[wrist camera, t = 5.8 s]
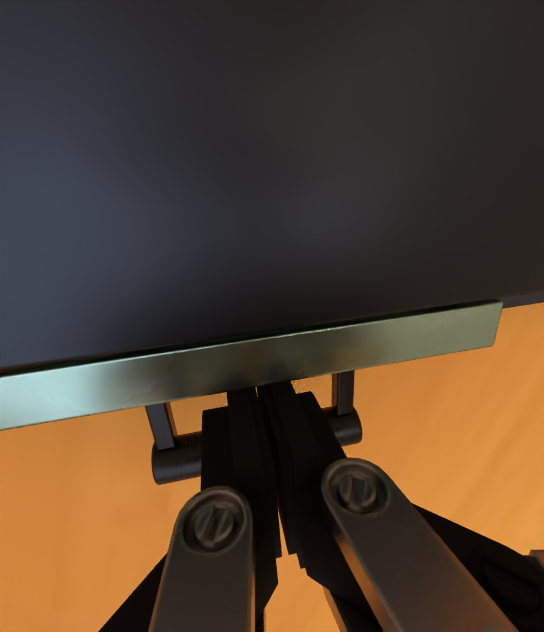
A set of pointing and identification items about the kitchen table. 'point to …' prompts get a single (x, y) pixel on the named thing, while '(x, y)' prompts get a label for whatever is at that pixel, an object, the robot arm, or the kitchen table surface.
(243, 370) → the tray
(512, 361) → the kitchen table surface
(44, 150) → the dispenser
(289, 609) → the kitchen table surface
